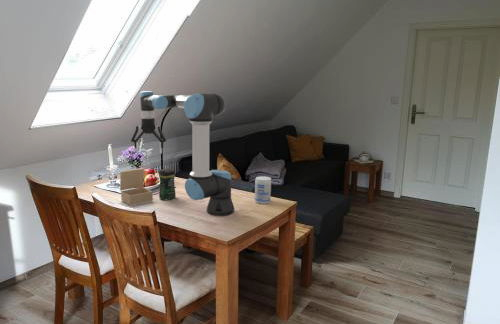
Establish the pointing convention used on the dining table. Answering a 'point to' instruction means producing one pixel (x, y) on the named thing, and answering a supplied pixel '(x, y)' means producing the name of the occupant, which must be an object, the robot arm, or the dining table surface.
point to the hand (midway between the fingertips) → (149, 153)
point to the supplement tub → (262, 189)
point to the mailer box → (136, 196)
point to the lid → (131, 179)
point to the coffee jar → (167, 184)
